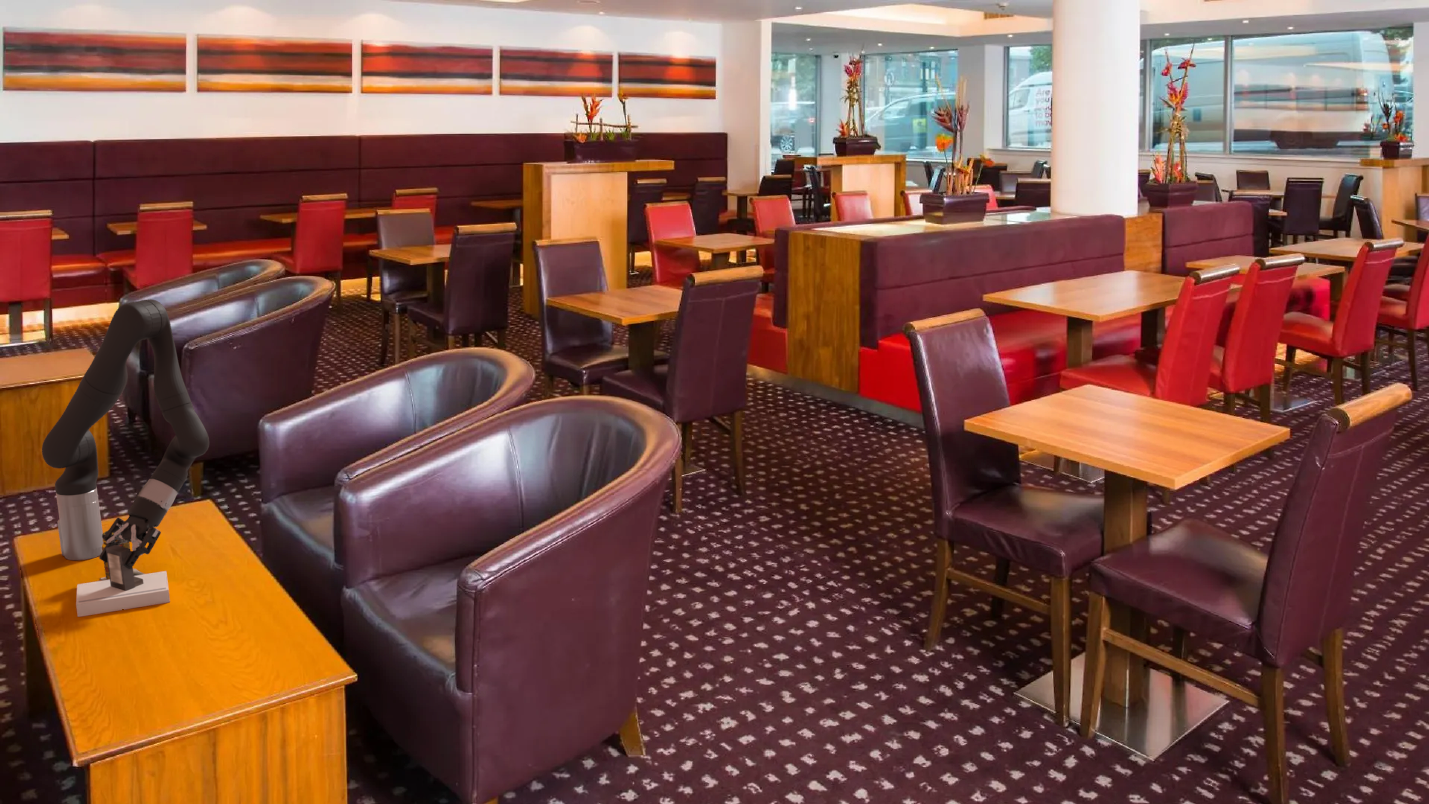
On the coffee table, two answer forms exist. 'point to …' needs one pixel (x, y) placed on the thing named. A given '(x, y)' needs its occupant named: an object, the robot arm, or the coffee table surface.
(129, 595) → the board
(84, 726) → the coffee table surface
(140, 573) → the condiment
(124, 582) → the dark block with lip
